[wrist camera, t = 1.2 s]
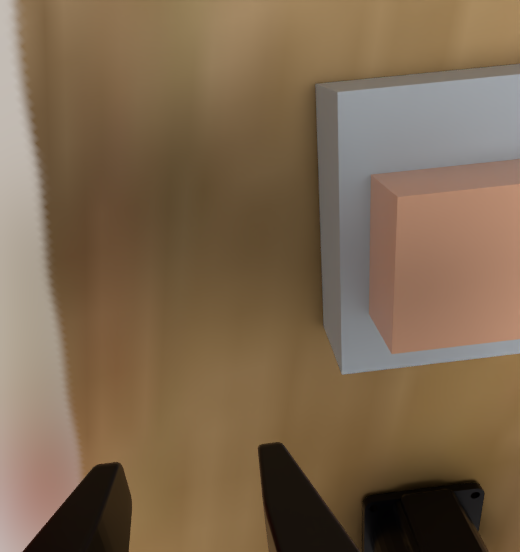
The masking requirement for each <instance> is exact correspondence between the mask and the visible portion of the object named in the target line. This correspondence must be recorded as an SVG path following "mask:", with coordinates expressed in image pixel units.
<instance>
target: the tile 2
mask: <svg viewBox="0 0 520 552" xmlns="http://www.w3.org/2000/svg"><path fill="white" fill-rule="evenodd" d="M369 315H370V317H371V319H372V320H373V322H374V324H375V326H376V327H377V329H378V331H379V333H380V335H381V336H382V338H383V340H384V342H385V343H386V345H387V347H388V349H389V350H390V352H391V354H398V353H406V352H415V351H423V350H432V349H440V348H449V347H457V346H466V345H474V344H483V343H491V342H500V341H508V340H516V339H520V159H514V160H505V161H495V162H486V163H476V164H467V165H457V166H447V167H438V168H428V169H419V170H409V171H400V172H390V173H381V174H371V192H370V268H369Z"/></svg>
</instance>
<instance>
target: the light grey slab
mask: <svg viewBox="0 0 520 552" xmlns="http://www.w3.org/2000/svg"><path fill="white" fill-rule="evenodd" d="M315 86H316V115H317V145H318V175H319V204H320V234H321V264H322V293H323V323H324V329H325V331H326V334H327V337H328V339H329V342H330V344H331V347H332V350H333V352H334V355H335V358H336V360H337V363H338V366H339V368H340V371H341V373H342V375H343V374H351V373H359V372H368V371H376V370H385V369H393V368H401V367H410V366H418V365H427V364H435V363H443V362H452V361H460V360H469V359H477V358H485V357H494V356H502V355H511V354H519V353H520V339H516V340H508V341H500V342H491V343H483V344H474V345H466V346H457V347H449V348H440V349H432V350H423V351H415V352H406V353H398V354H391V352H390V350H389V349H388V347H387V345H386V343H385V342H384V340H383V338H382V336H381V335H380V333H379V331H378V329H377V327H376V326H375V324H374V322H373V320H372V319H371V317H370V315H369V268H370V192H371V174H381V173H390V172H400V171H409V170H419V169H428V168H438V167H447V166H457V165H467V164H476V163H486V162H495V161H505V160H514V159H520V64H512V65H502V66H491V67H481V68H471V69H461V70H451V71H440V72H430V73H420V74H410V75H400V76H389V77H379V78H369V79H359V80H349V81H338V82H328V83H318V84H315Z"/></svg>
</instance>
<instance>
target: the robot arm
mask: <svg viewBox="0 0 520 552" xmlns="http://www.w3.org/2000/svg"><path fill="white" fill-rule="evenodd" d="M258 456H259V466H260V477H261V487H262V497H263V506H264V514H265V523H266V531H267V539H268V548H269V552H360V551H359V549H358V548H357V546H356V545H355V544H354V542H353V541H352V539H351V538H350V537H349V535H348V534H347V532H346V531H345V530H344V528H343V527H342V525H341V524H340V523H339V521H338V520H337V519H336V517H335V516H334V514H333V513H332V512H331V510H330V509H329V507H328V506H327V505H326V503H325V502H324V500H323V499H322V498H321V496H320V495H319V493H318V492H317V491H316V489H315V488H314V487H313V485H312V484H311V482H310V481H309V480H308V478H307V477H306V475H305V474H304V473H303V471H302V470H301V468H300V467H299V466H298V464H297V463H296V461H295V460H294V459H293V457H292V456H291V455H290V453H289V452H288V450H287V449H286V448H285V446H284V445H283V444H282V443H280V442H275V443H267V444H261V445H259V447H258ZM483 500H484V491H483V489H482V487H481V486H480V484H478V483H465V484H458V485H450V486H442V487H434V488H426V489H419V490H411V491H403V492H395V493H387V494H380V495H372V496H368V497H367V498H365V499H364V500H363V511H362V552H488V550H487V548H486V546H485V544H484V542H483V540H482V539H481V537H480V535H479V533H478V531H479V525H480V518H481V512H482V506H483ZM131 515H132V499H131V494H130V490H129V487H128V483H127V480H126V476H125V473H124V469H123V467H122V465H121V464H120V463H118V462H113V463H105V464H99V465H96V466H95V467H93V468H92V470H91V471H90V472H89V473H88V474H87V475H86V477H85V478H84V479H83V480H82V481H81V483H80V484H79V485H78V486H77V487H76V489H75V490H74V491H73V492H72V493H71V495H70V496H69V497H68V498H67V499H66V500H65V502H64V503H63V504H62V505H61V506H60V508H59V509H58V510H57V511H56V512H55V514H54V515H53V516H52V517H51V518H50V520H49V521H48V522H47V523H46V525H44V527H43V528H42V529H41V530H40V531H39V533H38V534H37V535H36V536H35V537H34V539H33V540H32V541H31V542H30V543H29V545H28V546H27V547H26V548H25V549H24V551H23V552H129V540H130V527H131Z"/></svg>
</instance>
